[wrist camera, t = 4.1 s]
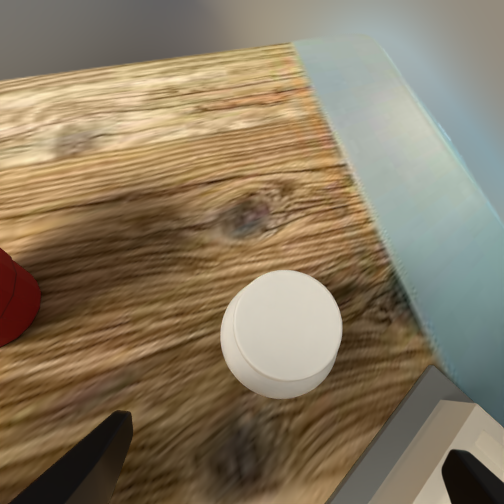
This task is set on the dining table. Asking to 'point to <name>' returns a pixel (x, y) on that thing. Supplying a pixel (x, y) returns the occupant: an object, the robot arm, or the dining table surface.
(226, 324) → the supplement bottle
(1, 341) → the plastic cup
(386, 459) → the mat
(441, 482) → the dish
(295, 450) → the dining table surface
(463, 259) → the dining table surface
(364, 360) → the dining table surface
